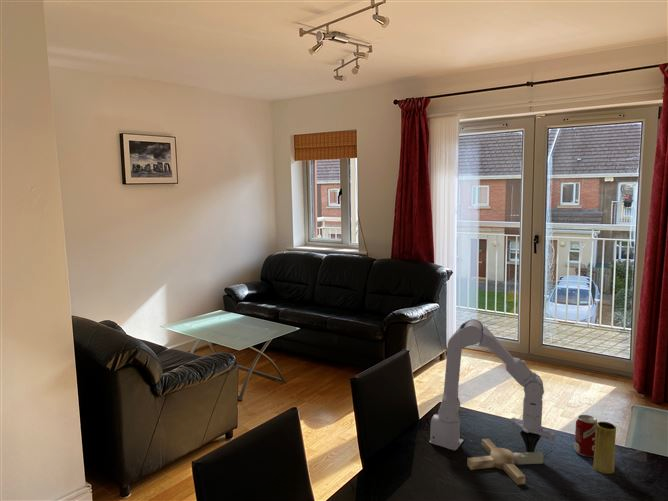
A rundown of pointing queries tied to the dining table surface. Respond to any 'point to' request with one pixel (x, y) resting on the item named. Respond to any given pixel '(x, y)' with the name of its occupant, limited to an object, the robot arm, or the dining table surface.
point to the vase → (605, 448)
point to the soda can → (585, 435)
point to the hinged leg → (528, 458)
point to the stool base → (497, 461)
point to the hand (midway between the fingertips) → (530, 452)
